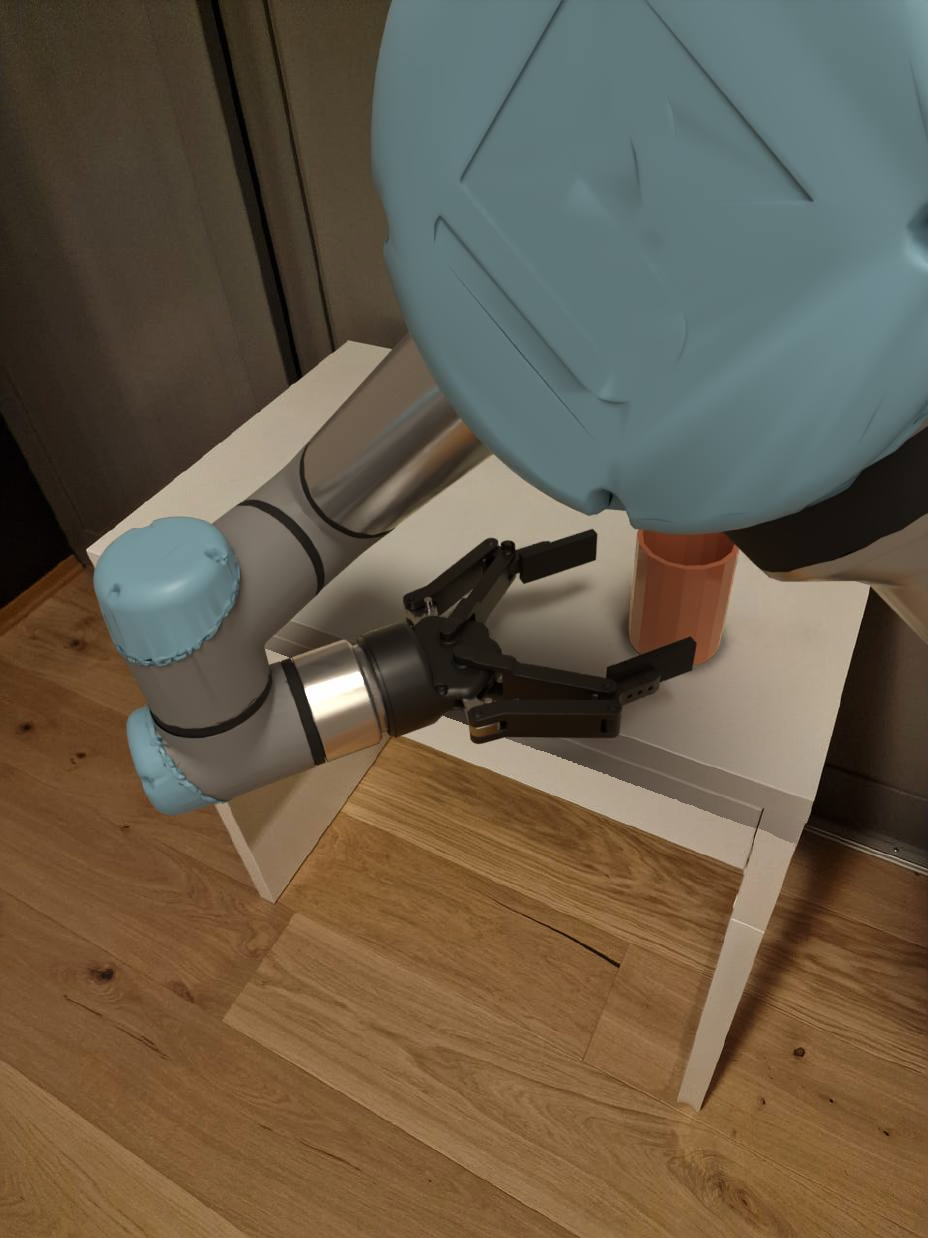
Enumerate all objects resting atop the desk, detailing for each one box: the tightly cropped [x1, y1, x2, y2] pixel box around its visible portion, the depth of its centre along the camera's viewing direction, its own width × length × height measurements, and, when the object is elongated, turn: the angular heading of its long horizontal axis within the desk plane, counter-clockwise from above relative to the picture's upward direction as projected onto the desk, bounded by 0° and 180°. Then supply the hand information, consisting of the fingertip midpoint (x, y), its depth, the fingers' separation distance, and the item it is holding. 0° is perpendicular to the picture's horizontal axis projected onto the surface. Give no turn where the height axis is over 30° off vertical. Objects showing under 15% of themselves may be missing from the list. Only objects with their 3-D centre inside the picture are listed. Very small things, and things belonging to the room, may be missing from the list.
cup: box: [627, 529, 741, 667], centre depth 64 cm, size 7×7×10 cm
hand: (639, 594), depth 63 cm, fingers open, 13 cm apart
